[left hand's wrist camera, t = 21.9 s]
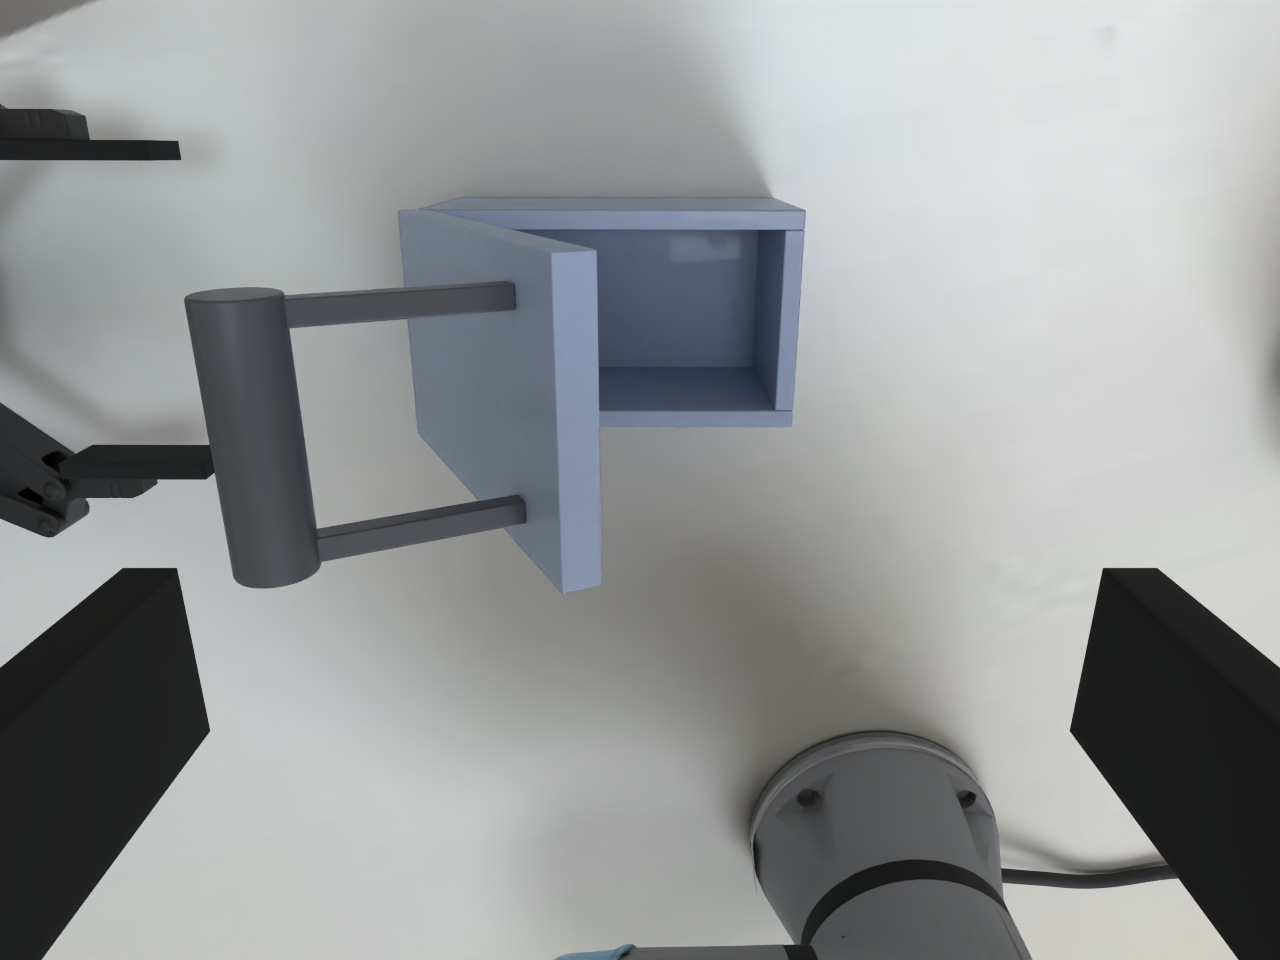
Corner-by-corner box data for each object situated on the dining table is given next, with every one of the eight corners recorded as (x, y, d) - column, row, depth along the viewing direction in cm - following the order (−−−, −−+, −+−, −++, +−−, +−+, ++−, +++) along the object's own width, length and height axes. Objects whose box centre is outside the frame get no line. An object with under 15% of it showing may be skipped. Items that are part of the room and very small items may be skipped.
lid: (597, 249, 21) (178, 270, 17) (602, 585, 24) (249, 666, 21) (428, 209, 35) (170, 217, 31) (445, 430, 38) (213, 461, 34)
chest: (774, 197, 43) (806, 209, 35) (764, 377, 47) (792, 427, 38) (459, 197, 43) (416, 208, 35) (471, 377, 47) (435, 427, 38)
